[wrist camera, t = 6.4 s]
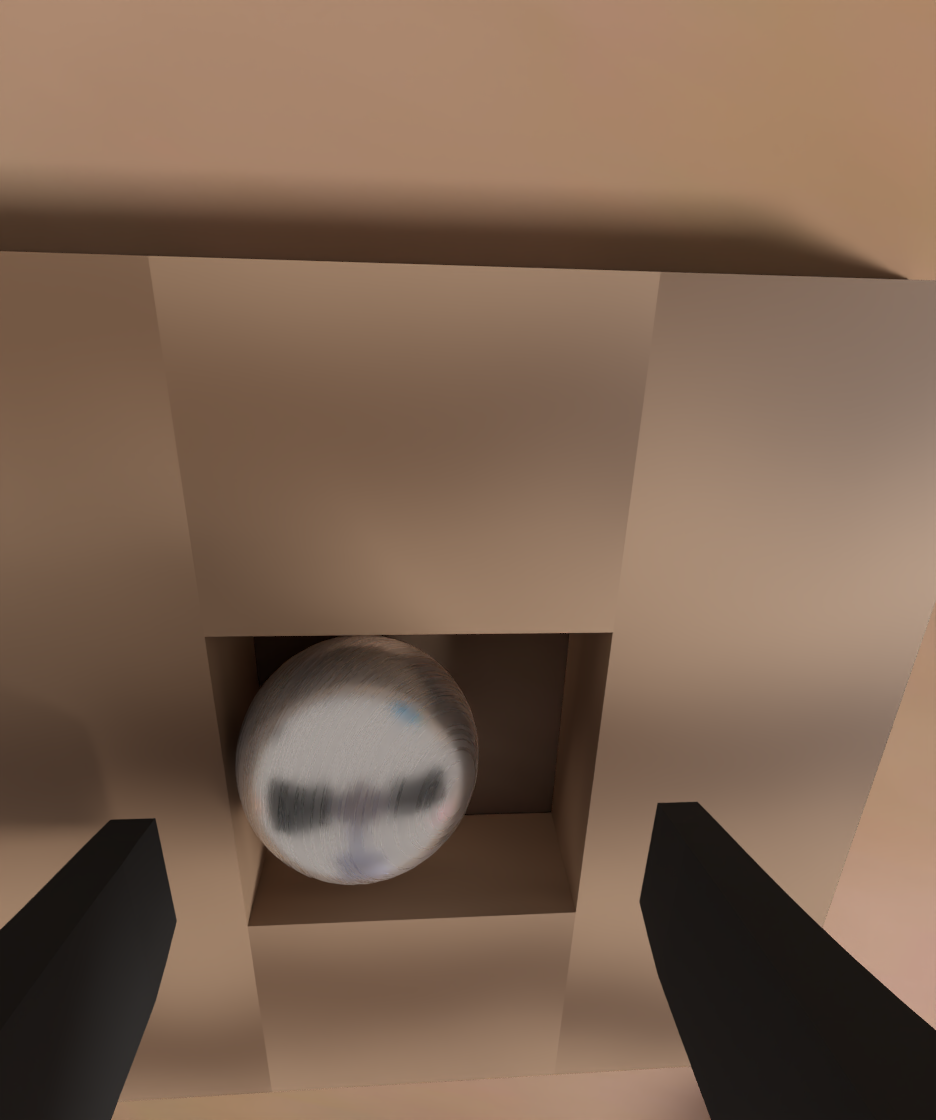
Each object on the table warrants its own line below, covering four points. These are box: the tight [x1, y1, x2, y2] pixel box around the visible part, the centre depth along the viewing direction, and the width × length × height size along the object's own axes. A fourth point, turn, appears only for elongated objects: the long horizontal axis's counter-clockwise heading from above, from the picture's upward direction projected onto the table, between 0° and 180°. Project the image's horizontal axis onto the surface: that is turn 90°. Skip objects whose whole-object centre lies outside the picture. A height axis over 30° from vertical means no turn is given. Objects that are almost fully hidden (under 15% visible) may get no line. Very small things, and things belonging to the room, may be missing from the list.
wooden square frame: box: [0, 251, 936, 1102], centre depth 12 cm, size 16×16×2 cm
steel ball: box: [235, 635, 479, 885], centre depth 11 cm, size 4×4×4 cm
